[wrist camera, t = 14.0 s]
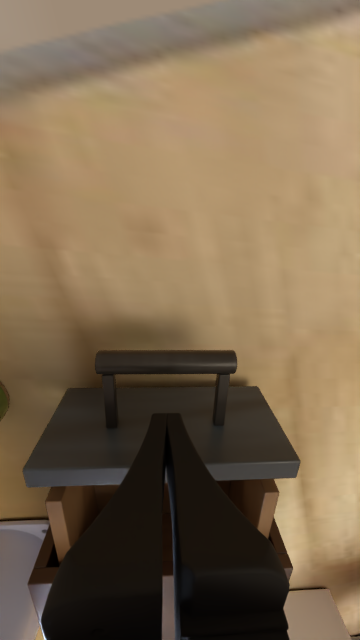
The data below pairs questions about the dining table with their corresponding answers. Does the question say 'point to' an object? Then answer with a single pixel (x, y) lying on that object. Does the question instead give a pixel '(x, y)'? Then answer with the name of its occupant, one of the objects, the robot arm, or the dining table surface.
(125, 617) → the robot arm
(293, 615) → the milk carton
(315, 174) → the dining table surface
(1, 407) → the tin can
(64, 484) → the drawer
